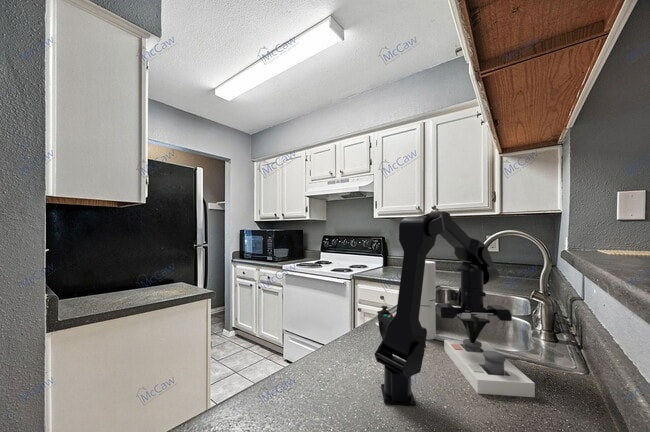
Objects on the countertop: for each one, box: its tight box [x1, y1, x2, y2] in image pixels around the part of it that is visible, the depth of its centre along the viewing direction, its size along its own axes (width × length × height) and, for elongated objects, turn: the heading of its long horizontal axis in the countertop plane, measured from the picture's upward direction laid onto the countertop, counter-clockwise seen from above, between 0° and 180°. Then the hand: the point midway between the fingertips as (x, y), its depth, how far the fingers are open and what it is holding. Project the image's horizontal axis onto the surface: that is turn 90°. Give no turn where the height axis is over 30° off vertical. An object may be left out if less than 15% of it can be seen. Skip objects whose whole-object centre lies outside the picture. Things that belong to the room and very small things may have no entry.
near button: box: [483, 351, 507, 376], centre depth 67 cm, size 5×5×4 cm
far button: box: [462, 338, 482, 352], centre depth 79 cm, size 5×5×4 cm
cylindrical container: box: [419, 260, 437, 341], centre depth 96 cm, size 7×7×25 cm
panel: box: [443, 339, 536, 398], centre depth 73 cm, size 22×12×3 cm, turn 175°
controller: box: [376, 305, 394, 340], centre depth 91 cm, size 4×12×10 cm, turn 8°
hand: (472, 342), depth 79 cm, fingers closed, pressing on far button
